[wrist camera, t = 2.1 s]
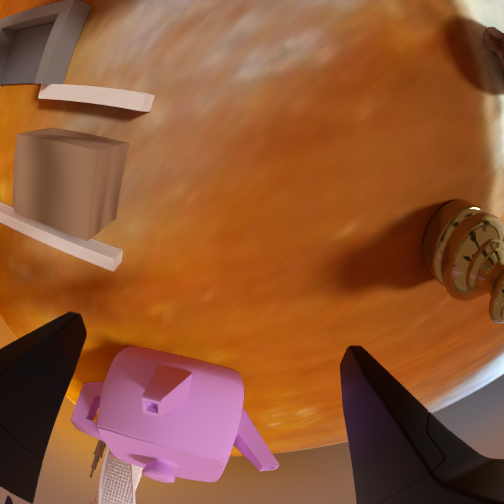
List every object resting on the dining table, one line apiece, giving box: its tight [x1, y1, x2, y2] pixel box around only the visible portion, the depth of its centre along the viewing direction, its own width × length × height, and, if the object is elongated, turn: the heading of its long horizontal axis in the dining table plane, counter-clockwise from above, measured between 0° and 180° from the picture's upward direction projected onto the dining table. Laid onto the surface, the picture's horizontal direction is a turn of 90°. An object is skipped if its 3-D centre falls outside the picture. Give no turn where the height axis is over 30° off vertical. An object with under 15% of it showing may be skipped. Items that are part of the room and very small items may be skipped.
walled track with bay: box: [0, 0, 155, 272], centre depth 14 cm, size 29×21×2 cm
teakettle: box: [71, 346, 279, 483], centre depth 23 cm, size 17×17×12 cm
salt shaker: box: [423, 200, 504, 324], centre depth 15 cm, size 7×7×10 cm
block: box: [13, 128, 129, 241], centre depth 16 cm, size 8×6×4 cm
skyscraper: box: [90, 440, 143, 504], centre depth 22 cm, size 8×8×28 cm
